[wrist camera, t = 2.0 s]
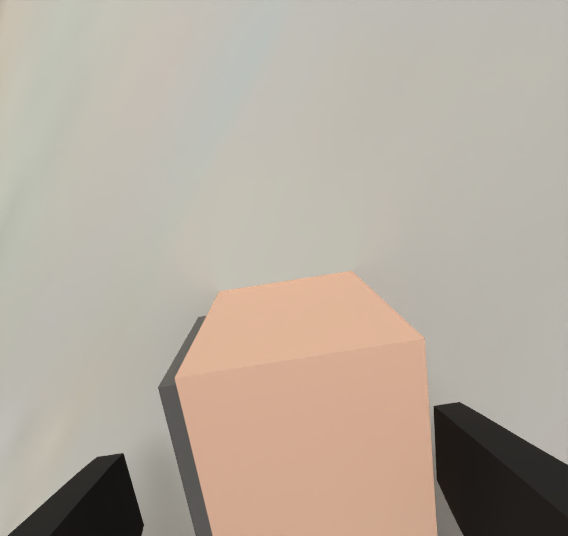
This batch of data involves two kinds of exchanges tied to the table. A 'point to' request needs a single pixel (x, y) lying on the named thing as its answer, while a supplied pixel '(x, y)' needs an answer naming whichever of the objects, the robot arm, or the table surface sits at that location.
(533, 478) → the robot arm
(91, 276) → the table surface
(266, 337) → the peach rectangular block
